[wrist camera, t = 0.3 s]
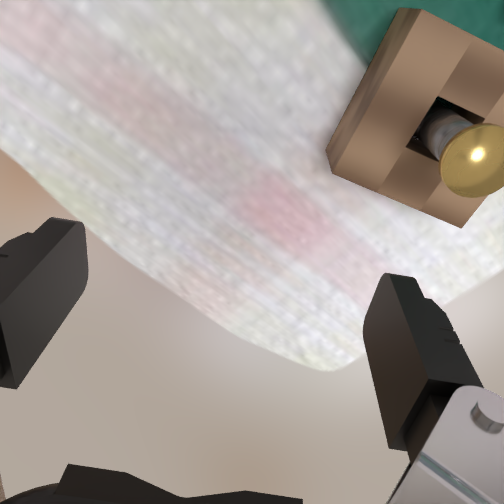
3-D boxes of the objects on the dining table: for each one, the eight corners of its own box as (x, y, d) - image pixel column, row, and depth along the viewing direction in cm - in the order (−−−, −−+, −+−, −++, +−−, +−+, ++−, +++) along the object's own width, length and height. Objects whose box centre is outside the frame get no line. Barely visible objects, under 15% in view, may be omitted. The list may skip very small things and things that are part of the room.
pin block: (399, 7, 31) (422, 9, 26) (529, 73, 33) (574, 86, 28) (325, 149, 37) (332, 173, 32) (438, 198, 39) (461, 228, 34)
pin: (413, 77, 33) (474, 114, 23) (458, 99, 34) (538, 144, 23) (384, 127, 36) (427, 181, 25) (427, 147, 36) (487, 208, 26)
